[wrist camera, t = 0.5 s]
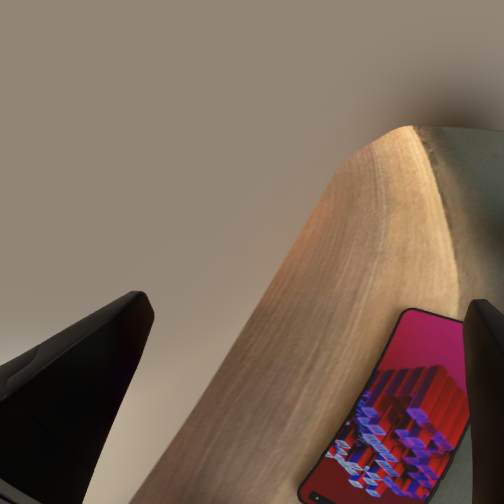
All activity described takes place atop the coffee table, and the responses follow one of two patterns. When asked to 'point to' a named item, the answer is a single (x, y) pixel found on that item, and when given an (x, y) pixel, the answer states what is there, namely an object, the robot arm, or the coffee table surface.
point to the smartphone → (399, 420)
